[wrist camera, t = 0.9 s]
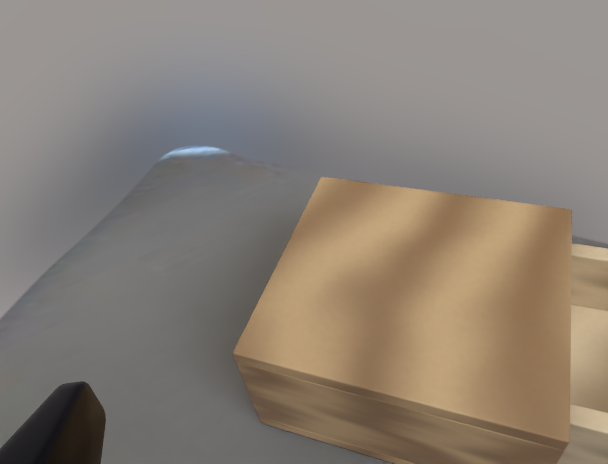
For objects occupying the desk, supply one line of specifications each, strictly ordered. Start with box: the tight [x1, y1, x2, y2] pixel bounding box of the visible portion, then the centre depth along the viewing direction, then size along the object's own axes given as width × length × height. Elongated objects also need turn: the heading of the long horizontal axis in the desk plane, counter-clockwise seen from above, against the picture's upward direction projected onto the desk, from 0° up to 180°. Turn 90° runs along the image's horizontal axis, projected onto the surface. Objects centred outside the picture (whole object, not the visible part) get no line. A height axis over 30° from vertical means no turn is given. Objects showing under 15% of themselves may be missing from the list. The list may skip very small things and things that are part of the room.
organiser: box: [233, 177, 572, 464], centre depth 25 cm, size 12×11×6 cm
